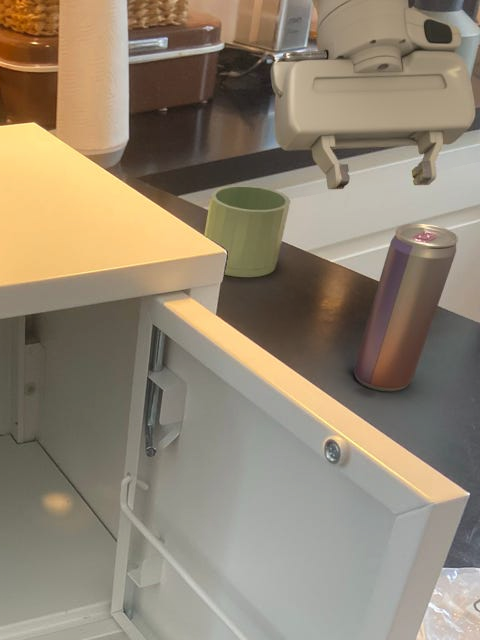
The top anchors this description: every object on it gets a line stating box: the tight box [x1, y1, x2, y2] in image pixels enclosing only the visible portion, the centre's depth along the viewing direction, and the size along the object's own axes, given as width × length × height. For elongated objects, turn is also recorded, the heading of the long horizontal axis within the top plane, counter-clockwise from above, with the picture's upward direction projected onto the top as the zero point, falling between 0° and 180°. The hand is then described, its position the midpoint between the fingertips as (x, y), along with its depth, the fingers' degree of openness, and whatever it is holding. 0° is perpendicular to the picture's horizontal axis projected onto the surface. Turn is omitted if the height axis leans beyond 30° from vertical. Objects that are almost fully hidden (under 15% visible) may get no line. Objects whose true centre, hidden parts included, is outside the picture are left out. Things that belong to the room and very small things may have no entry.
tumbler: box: [203, 184, 291, 278], centre depth 120 cm, size 10×10×8 cm
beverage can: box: [353, 223, 459, 392], centre depth 94 cm, size 6×6×15 cm
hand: (382, 184), depth 95 cm, fingers open, 8 cm apart
